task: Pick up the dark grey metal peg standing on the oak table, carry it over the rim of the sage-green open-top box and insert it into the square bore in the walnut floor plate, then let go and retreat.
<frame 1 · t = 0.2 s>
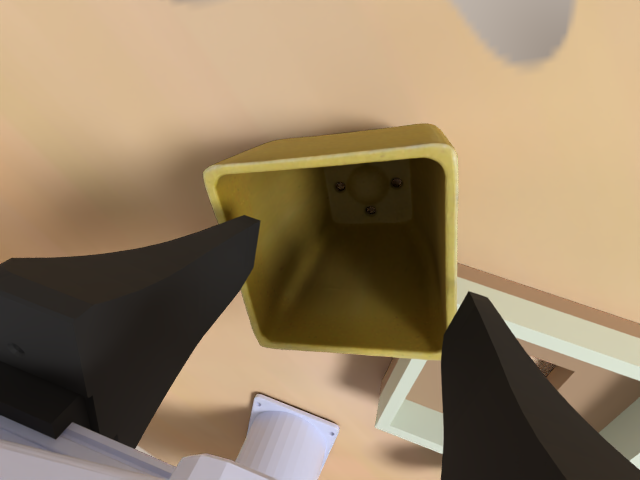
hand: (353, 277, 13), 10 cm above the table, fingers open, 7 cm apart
flower pot: (370, 183, 22), on the table
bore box: (510, 363, 25), on the table
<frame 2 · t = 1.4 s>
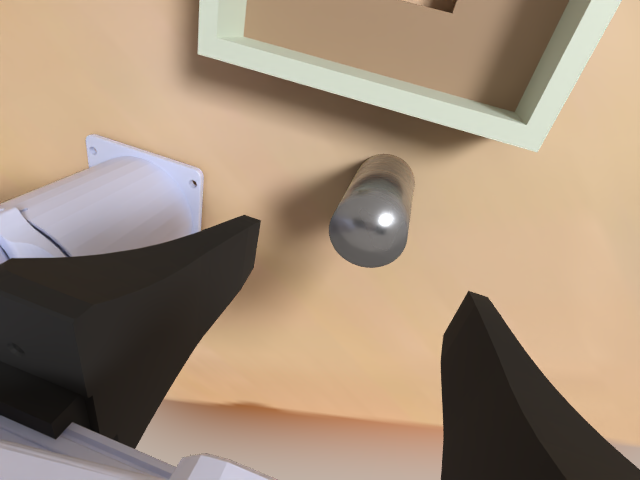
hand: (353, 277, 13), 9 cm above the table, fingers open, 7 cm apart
peg: (384, 183, 20), on the table
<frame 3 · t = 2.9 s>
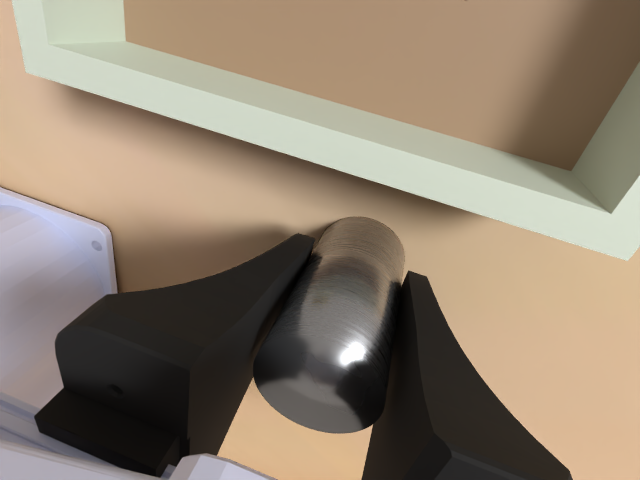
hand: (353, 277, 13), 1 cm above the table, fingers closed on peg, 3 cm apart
peg: (360, 256, 14), on the table, touching gripper
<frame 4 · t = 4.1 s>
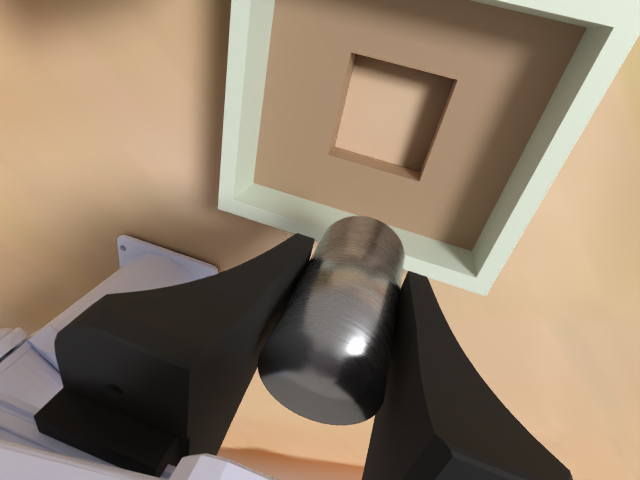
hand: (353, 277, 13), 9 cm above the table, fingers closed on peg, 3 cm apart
peg: (361, 254, 14), point 8 cm above the table, touching gripper
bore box: (390, 114, 19), on the table
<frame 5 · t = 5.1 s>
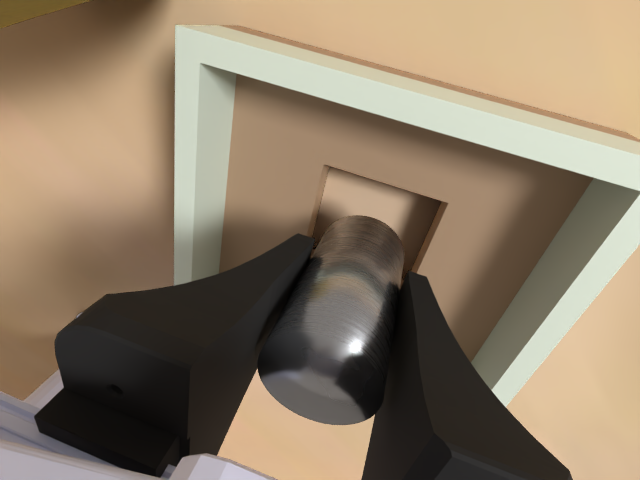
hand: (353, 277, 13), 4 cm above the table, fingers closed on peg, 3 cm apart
peg: (361, 253, 14), point 3 cm above the table, touching gripper
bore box: (371, 220, 16), on the table
when the fingers open (2 cm above the table, at t = 5.8 s): peg stays where it is, resting in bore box.
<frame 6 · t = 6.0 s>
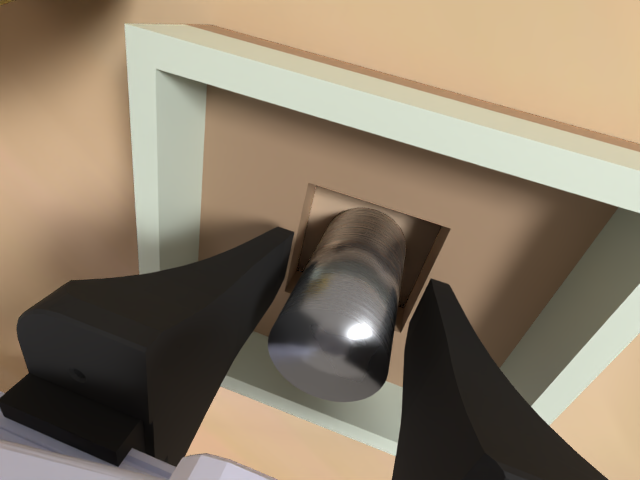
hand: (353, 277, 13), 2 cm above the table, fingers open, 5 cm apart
peg: (364, 245, 15), resting in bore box
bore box: (364, 243, 15), on the table
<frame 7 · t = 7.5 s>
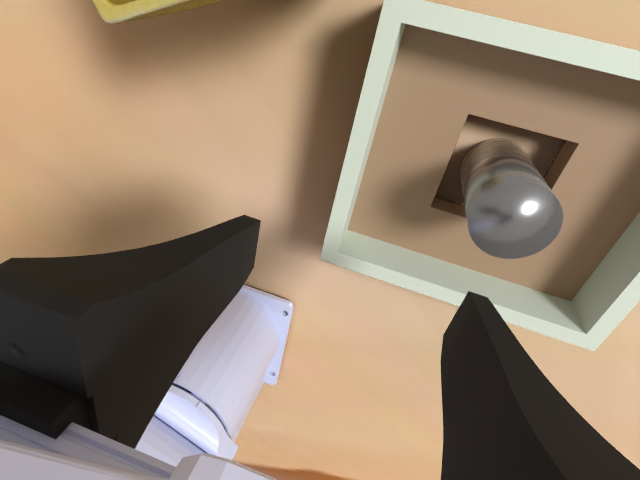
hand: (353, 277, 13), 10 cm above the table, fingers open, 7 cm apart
peg: (493, 169, 19), resting in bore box
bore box: (494, 167, 19), on the table
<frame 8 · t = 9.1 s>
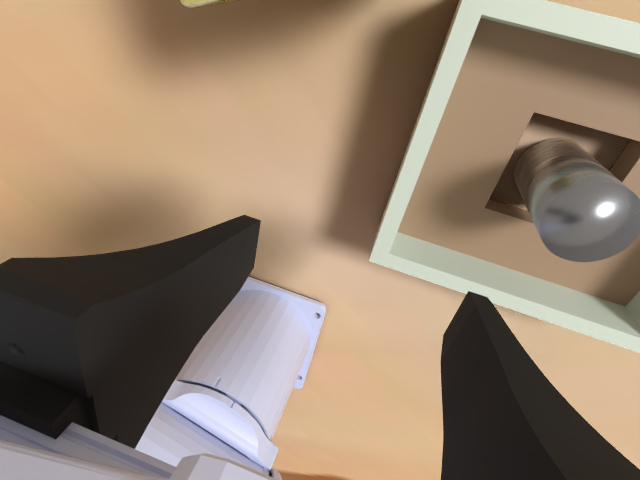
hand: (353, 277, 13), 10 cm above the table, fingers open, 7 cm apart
peg: (550, 170, 18), resting in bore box
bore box: (551, 168, 18), on the table
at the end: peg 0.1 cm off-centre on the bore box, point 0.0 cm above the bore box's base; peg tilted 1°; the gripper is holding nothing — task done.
